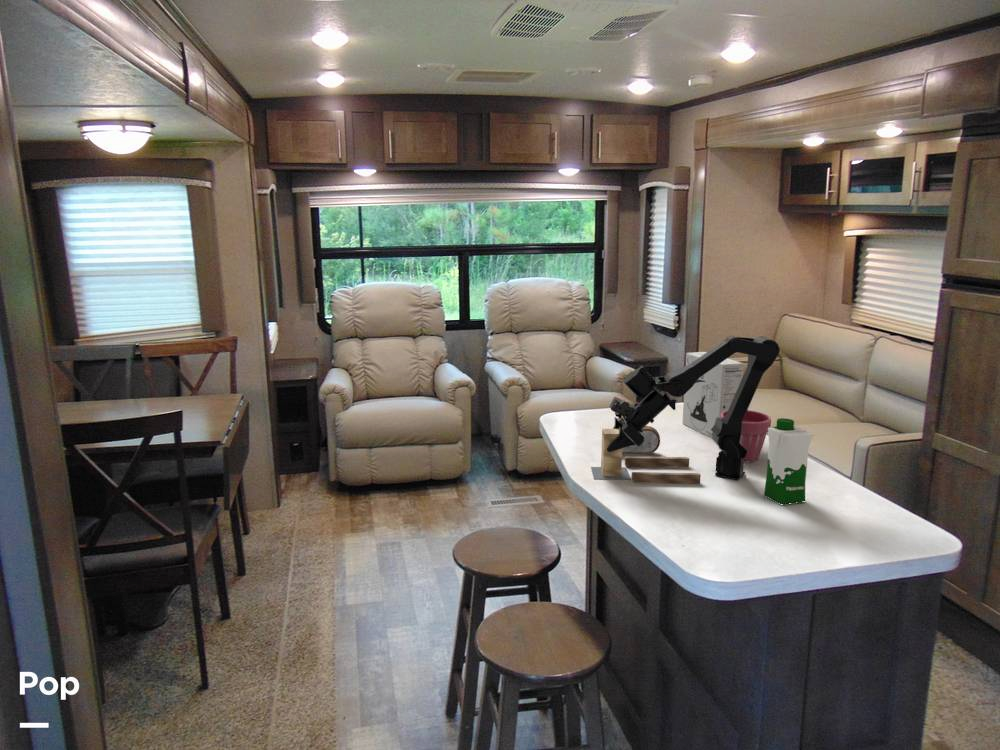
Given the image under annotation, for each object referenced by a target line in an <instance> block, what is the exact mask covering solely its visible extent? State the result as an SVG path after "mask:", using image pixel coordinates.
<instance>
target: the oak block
mask: <svg viewBox="0 0 1000 750" xmlns="http://www.w3.org/2000/svg"><path fill="white" fill-rule="evenodd" d="M601 429H602V430H601V452H600V454H601V458H600V459H601V460H600V467H601V472H602V475H603V476H621V469H622V463H623V460H622V459H623V453H622V448H621V449H618V450H615V451H612V452H608V451H607V448H608V447H609V445H610V444H611V443H612V442H613V441H614V439H615V438H616V437H617V436H618V434H619V429H613V428H601Z"/></svg>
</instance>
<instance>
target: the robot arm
mask: <svg viewBox="0 0 1000 750" xmlns="http://www.w3.org/2000/svg"><path fill="white" fill-rule="evenodd" d="M780 351H781V348H780V346H779V344H778V343H777V341H775V340H773V339H771V338H769V337H767V336H764V335H763V336H757V337H755V338H752V337H743V336H742V337H741V336H735V335H728V336H727V337H726V338H725V339H723V341H722V340H721V342H719V343H718V344H717V345H715V346H714V347H712V348H711V349H710V350H708V351H707V353H705V354H704V355H702V356H701V357H700V358H698V359H697V360H695V361H694V362H692V363H691V364H689V365H687V366H686V365H685V366H681V367H678V368H676V369H675V370H672V371H669V372H668V373H666V374H665V375H663V376H656V377H652V376H651V374H650V373H649V372H648V371H647V369H646V368H645V367H644V366H643V365H641V366H639V367H638V368H635V369H634V370H633V371H630V372H629V373H628V374H627V375H626V376H625V378H624V379H623V381H622V383H623V384H624V385H625V386H626V387H627V388H628V389H629V390H630V391H631V393H633V394H634V395H635V397H636V398H641V397H642V398H643V399H642V400H641V401H640V402H638V401H637V402H634V403H633V404H631V403H629V402H628V401H625V400H624V399H621V398H619V397H617V396H614V397H613V399H612V401H611V403H610V405H609V408H610V410H611V411H612V412H614V415H615V416H614V426H613V428H612V429H619V434H618V436H617V437H616V438H615V439H614V441H613V442H612V443H611V444H610V445H609V447H608V448H607V451H608V452H612V451H615V450H618V449H621V448H624V447H628V446H632V445H637V446H640V445H641V444H642V443H643V442H644V436H643V434H642V432H643V430H642V429H643V428H644V427H645V426H648V424H649V423H651V424H653V423H654V422H655V418H656V417H657V416H658V415H659V414H661V412H663V411H664V410H665V409H666V408H667V407H668V406H669V407H670V408H671V409H672V410H673V411H676V409H677V408H676V403H677V399H676V398H681V397H684V394H685V393H686V392H687V391H689V390H690V389H691V388H692V387H693V385H694V384H695V383H696V381H697V380H698V379H699V378H700V377H701V376H703V375H704V374H705V373H707V372H708V371H710V370H711V369H713V368H714V367H715V366H717V365H718V364H720V363H721V362H723V361H724V360H726V359H729V358H730V357H731V356H733V355H734V354H736V353H740V354H744V355H747V366H746V368H745V371H744V372H743V378H742V380H741V382H740V384H739V387H738V389H737V391H736V394H735V396H734V398H733V400H732V403H731V405H730V407H729V410H728V412H727V414H726V415H725V416H724V417H723V418H722V419H720V418H718V417H717V418H716V421H715V425H714V426H713V428H712V429H711V430H712V431H713V432H712V438H711V439H712V440H713V442H714V443H715V444H716V445H717V447H718V449H719V450H720V451H719V452H718V456H717V457H716V460H715V474H714V476H717V477H722V478H725V479H730V480H731V479H732V480H735V481H736V480H740V479H741V478H742V477H743V476H744V475H746V472H745V471H744V469H745V468H744V467H745V462H744V458H745V456H746V454H747V450H746V449H745V448H744V447H743V446H742V445H741V444H740V443H739V442H740V438H741V434H742V421H743V419H744V416H745V414H746V412H747V410H748V409H749V407H750V405H751V402H752V400H753V398H754V396H755V394H756V391H757V389H758V386H759V385H760V382H761V380H762V377H763V375H764V374H765V373H766V372H767V371H768V369H769V368H771V367H772V366H773V365H774V363H775V362H776V360H777V358H778V357H779V355H780V353H781V352H780ZM656 388H657V389H656ZM658 389H659V390H660V392H659V390H658ZM668 394H669V395H670V396H671V397H673V398H671V397H670V396H669V395H668ZM674 397H675V398H674Z"/></svg>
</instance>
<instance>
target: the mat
mask: <svg viewBox="0 0 1000 750" xmlns="http://www.w3.org/2000/svg"><path fill="white" fill-rule="evenodd" d="M591 469H592V470H591ZM590 470H591V472H592V476H593V479H594V480H609V481H610V480H611V481H612V480H613V481H615V480H616V481H617V480H623V481H625V480H626V481H630V480H631V479H632V477H631V476H630V473H629V470H628V467H627V466H625V467H624V466H623V467H622V469H621V476H603V475H602V472H601V466H590Z"/></svg>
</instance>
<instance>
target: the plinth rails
mask: <svg viewBox="0 0 1000 750" xmlns="http://www.w3.org/2000/svg"><path fill="white" fill-rule="evenodd" d="M624 466H625V467H633V468H634V467H635V468H637V467H641V468H643V467H645V468H646V467H647V468H650V467H651V468H690V457H687V456H636V455H635V456H629V455H628V456H627V455H626V456H624ZM701 476H702V475H701V473H700V472H659V471H658V472H657V471H656V472H650V471H649V472H648V471H644V472H643V471H634V472H633V471H632V472H631V483H632V484H677V485H679V484H681V485H686V484H688V485H690V484H691V485H700V484H701Z"/></svg>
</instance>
